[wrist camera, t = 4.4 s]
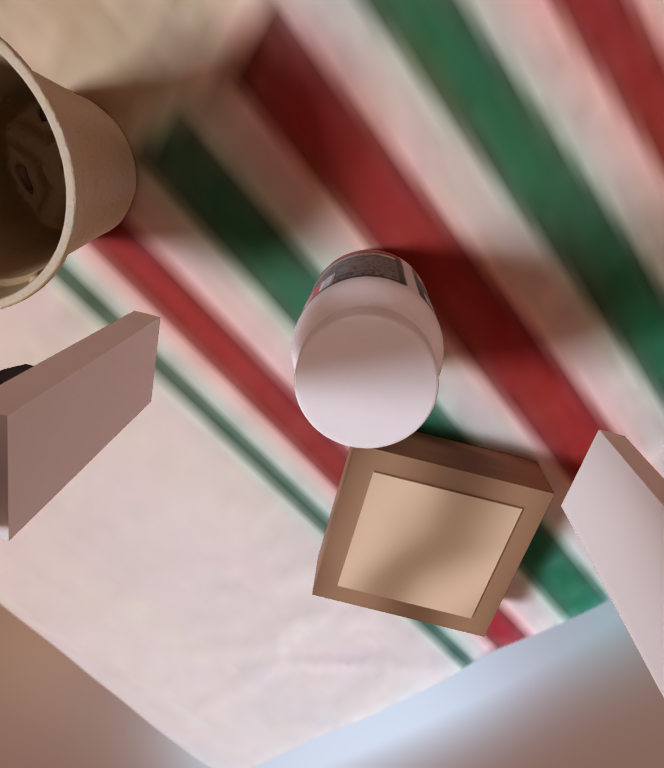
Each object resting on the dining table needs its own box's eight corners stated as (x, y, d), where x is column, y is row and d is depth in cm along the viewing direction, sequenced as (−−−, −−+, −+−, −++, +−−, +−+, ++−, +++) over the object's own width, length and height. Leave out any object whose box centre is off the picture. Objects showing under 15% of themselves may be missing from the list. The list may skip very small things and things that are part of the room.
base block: (318, 557, 32) (311, 596, 29) (358, 416, 28) (356, 445, 25) (475, 596, 32) (484, 638, 29) (537, 461, 28) (555, 495, 25)
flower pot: (70, -4, 22) (-108, -102, 14) (214, 192, 24) (134, 206, 16) (-64, 141, 24) (-277, 129, 16) (79, 304, 27) (-47, 362, 19)
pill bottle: (291, 324, 26) (245, 408, 17) (349, 224, 24) (332, 259, 15) (387, 380, 27) (390, 489, 18) (451, 288, 25) (493, 358, 16)
